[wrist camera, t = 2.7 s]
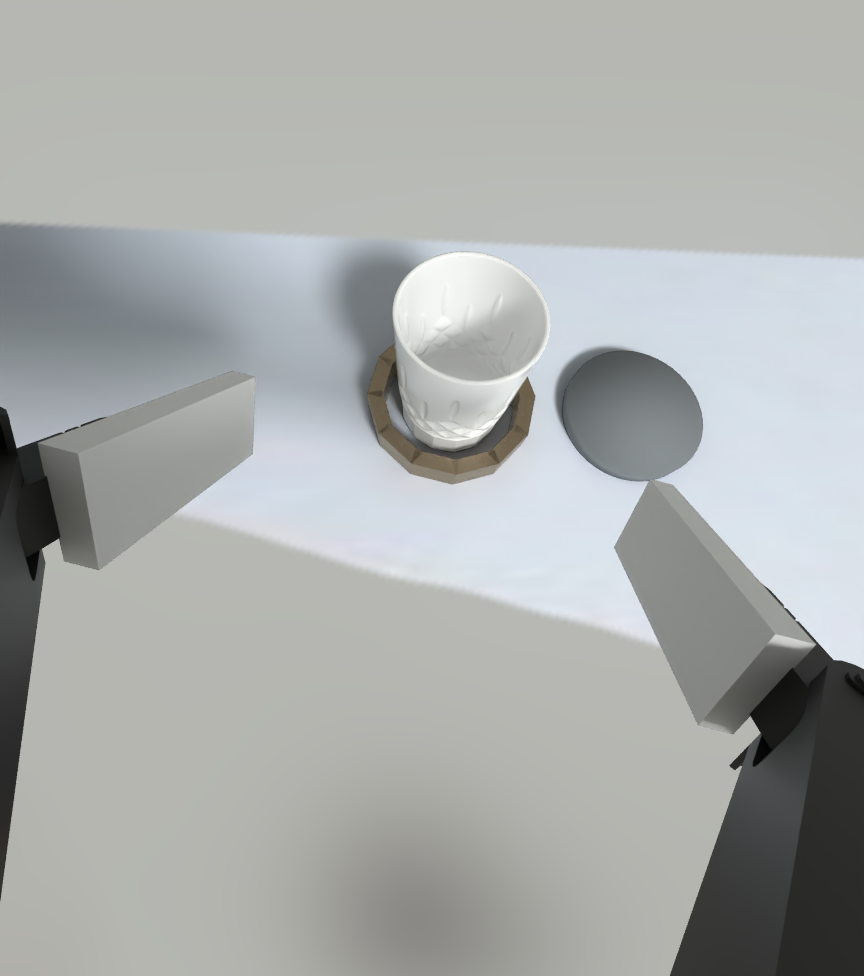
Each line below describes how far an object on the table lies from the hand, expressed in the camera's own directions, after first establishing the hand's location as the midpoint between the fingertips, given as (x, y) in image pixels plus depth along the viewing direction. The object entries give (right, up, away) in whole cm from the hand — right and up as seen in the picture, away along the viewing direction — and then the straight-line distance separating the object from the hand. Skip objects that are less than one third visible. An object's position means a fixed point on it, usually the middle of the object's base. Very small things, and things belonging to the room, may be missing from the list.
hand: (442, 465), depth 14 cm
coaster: (+14, +5, +17) cm, 23 cm away
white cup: (+1, +5, +17) cm, 17 cm away
